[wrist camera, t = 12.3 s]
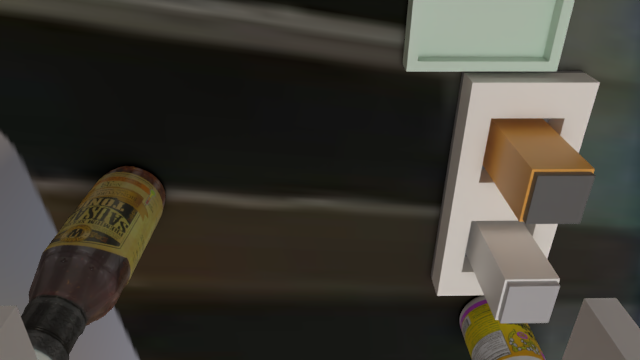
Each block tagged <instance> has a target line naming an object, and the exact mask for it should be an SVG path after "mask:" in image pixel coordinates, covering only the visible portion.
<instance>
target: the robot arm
mask: <svg viewBox="0 0 640 360" xmlns="http://www.w3.org/2000/svg"><path fill="white" fill-rule="evenodd" d="M0 360H38V359H37V356H36V354H35V351H34V349H33V346H32V344H31V341H30V339H29V336H28V334H27V331H26V329H25V326H24V324H23V321H22V319H21V316H20V313H19V311H18V308H17V306H0ZM562 360H640V329H639V327H638V326H637V325H636V323H635V322H634V321H633V319H632V318H631V317H630V315H629V314H628V313H627V311H626V310H625V309H624V308H623V306H622V305H621V304H620V302H619V301H618V300H617V298H584V300H583V303H582V306H581V309H580V311H579V314H578V317H577V320H576V323H575V325H574V328H573V331H572V334H571V336H570V339H569V342H568V345H567V347H566V350H565V353H564V356H563V358H562Z"/></svg>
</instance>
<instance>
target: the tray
mask: <svg viewBox="0 0 640 360" xmlns="http://www.w3.org/2000/svg"><path fill="white" fill-rule="evenodd" d="M574 1H575V0H408V11H407V21H406V32H405V43H404V54H403V66H404V68H405V70H406V71H557V69H558V65H559V61H560V57H561V53H562V49H563V45H564V41H565V37H566V33H567V29H568V25H569V21H570V17H571V13H572V9H573V5H574Z"/></svg>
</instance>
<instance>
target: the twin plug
mask: <svg viewBox="0 0 640 360" xmlns="http://www.w3.org/2000/svg"><path fill="white" fill-rule="evenodd" d="M465 253H466V255H467V257H468V260H469V262H470V264H471V266H472V269H473V271H474V273H475V275H476V278H477V280H478V282H479V285H480V287H481V289H482V291H483V294H484V296H485V298H486V300H487V303H488V305H489V307H490V309H491V312H492V314H493V316H494V318H495V320H499V322H500V323H548V322H549V319H550V316H551V313H552V310H553V307H554V304H555V300H556V297H557V294H558V291H559V288H560V285H559V280H560V278H559V277H558V275H557V274H556V272H555V271H554V269H553V267H552V266H551V264H550V263H549V261H548V260H547V258H546V257H545V255H544V254H543V252H542V251H541V249H540V248H539V246H538V245H537V243H536V241H535V240H534V238H533V237H532V235H531V234H530V232H529V231H528V229H527V228H526V226H525V225H524V223H523V222H519V221H471V226H470V232H469V237H468V242H467V247H466V252H465Z"/></svg>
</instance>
